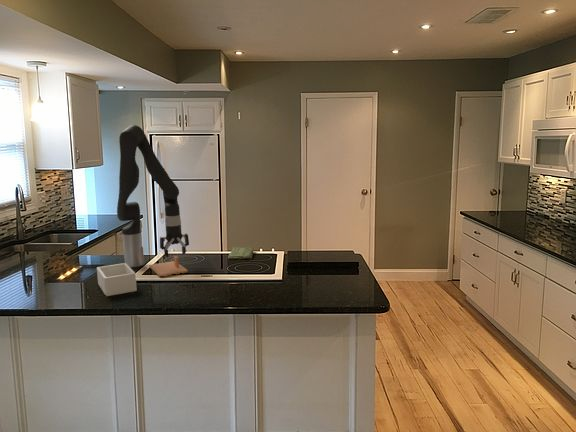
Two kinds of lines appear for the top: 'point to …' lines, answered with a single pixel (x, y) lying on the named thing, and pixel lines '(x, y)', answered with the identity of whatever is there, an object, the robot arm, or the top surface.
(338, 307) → the top surface
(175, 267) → the snap lid
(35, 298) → the top surface
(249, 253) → the washcloth
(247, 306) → the top surface
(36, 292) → the top surface
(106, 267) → the parts tub
